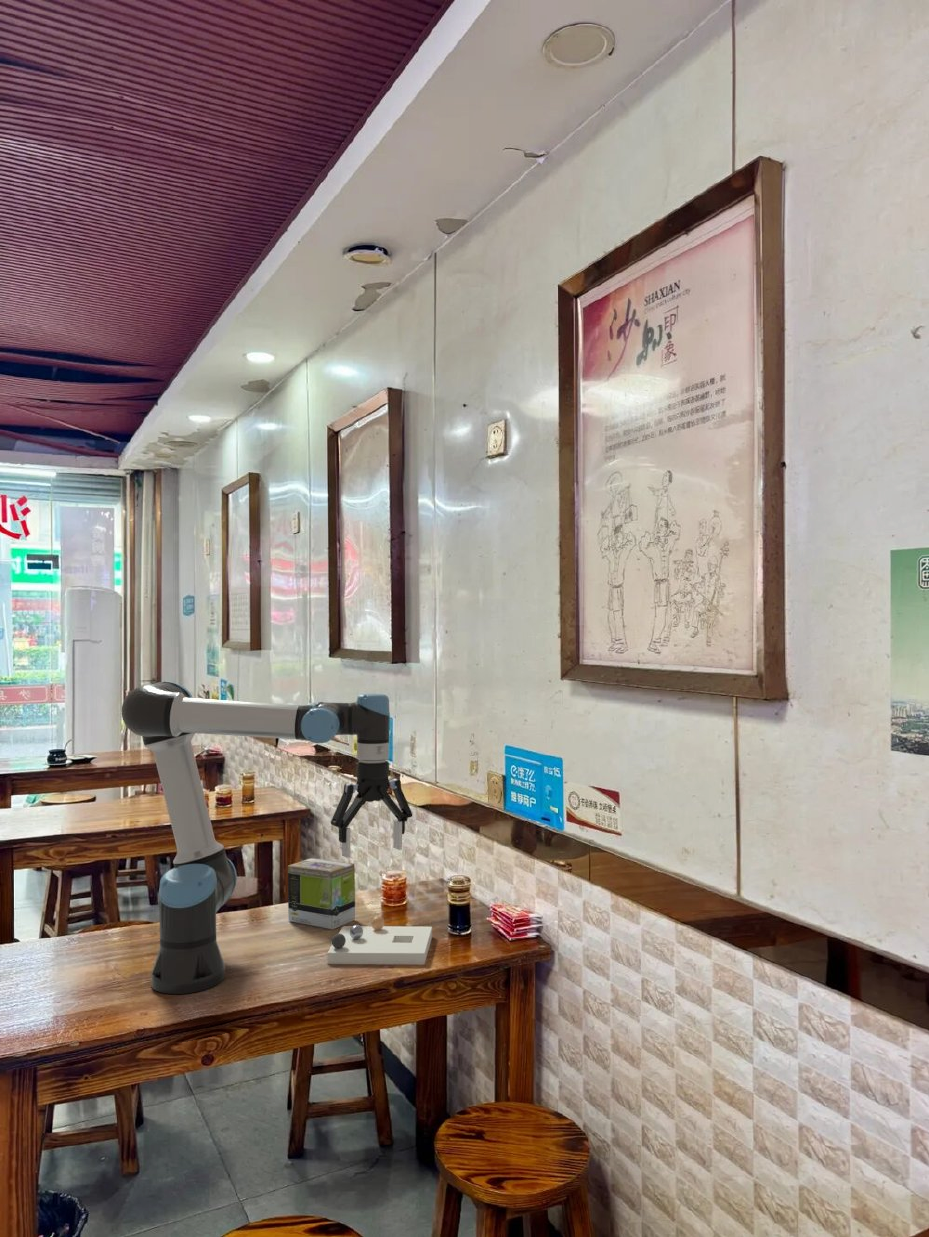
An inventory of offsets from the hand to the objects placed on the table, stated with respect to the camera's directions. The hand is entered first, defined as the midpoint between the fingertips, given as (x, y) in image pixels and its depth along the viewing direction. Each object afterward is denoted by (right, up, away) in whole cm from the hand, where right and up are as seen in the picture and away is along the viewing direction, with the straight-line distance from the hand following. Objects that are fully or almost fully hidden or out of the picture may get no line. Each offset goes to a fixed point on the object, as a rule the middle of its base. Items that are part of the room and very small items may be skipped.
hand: (372, 852), depth 200 cm
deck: (+2, -24, +2) cm, 24 cm away
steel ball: (-4, -20, +3) cm, 20 cm away
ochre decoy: (0, -20, +9) cm, 22 cm away
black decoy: (-7, -19, -3) cm, 21 cm away
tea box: (-16, -25, +24) cm, 38 cm away
